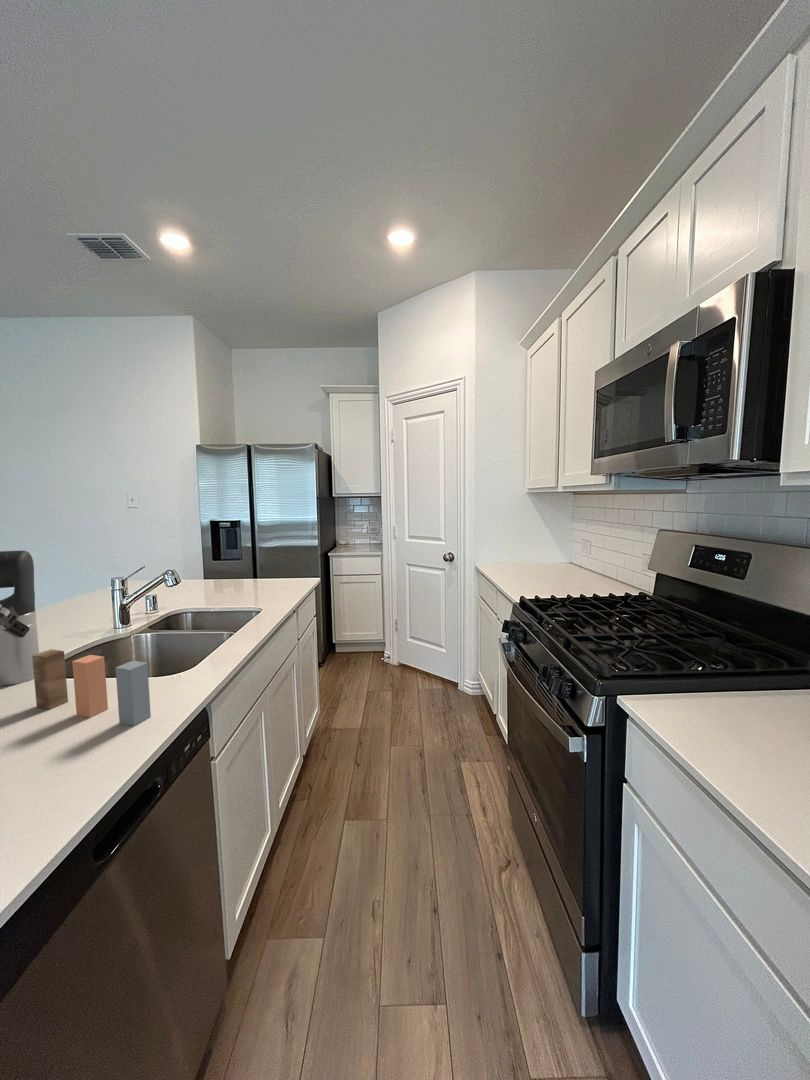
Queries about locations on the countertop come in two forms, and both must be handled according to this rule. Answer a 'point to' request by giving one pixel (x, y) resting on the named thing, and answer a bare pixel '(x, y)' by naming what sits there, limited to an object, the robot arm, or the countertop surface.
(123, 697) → the slate pillar
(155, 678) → the countertop surface
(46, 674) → the walnut pillar
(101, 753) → the countertop surface
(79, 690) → the terracotta pillar
